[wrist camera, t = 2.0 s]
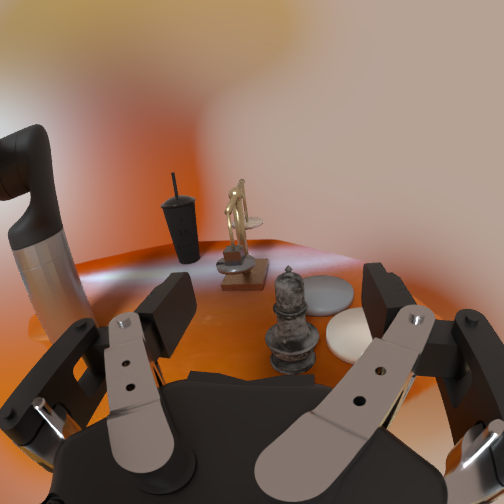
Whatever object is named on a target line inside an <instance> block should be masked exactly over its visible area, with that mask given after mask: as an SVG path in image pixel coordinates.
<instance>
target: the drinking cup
mask: <svg viewBox="0 0 504 504" xmlns="http://www.w3.org/2000/svg"><path fill="white" fill-rule="evenodd" d="M171 175H172V181H173V186H174V192H175V196H174V197H172V198H170V199H168V200H167V201H165V203H163V204H162V205H161V208H163V212H164V215H165V218H166V221H167V225H168V228H169V231H170V234H171V237H172V240H173V244H174V247H175V250H176V253H177V256H178V259H179V262H180V263H181V264H190V263H194V262H196V261H198V260H199V259H200V254H199V245H198V235H197V225H196V215H195V203H194V202H195V198H193V197H190V196H185V195H179V196H178V191H177V185H176V179H175V174H174V173H171Z"/></svg>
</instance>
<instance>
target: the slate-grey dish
mask: <svg viewBox="0 0 504 504" xmlns="http://www.w3.org/2000/svg"><path fill="white" fill-rule="evenodd" d="M303 281H304V297H305V301H306V302H307V304H308V307H309V308H308V311H307V312H306V315H309V316H315V317H326V316H333V315H336V314H338V313H340V312H342V311H345V310H347V309H348V308H349V307H350V306H351V304H352V302H353V295H354V290H353V287H352V286H351V285H350V284H349V283H348V282H347V281H345V280H343V279H341V278H338V277H334V276H325V275H320V276H311V277H307V278H304V279H303Z"/></svg>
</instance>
